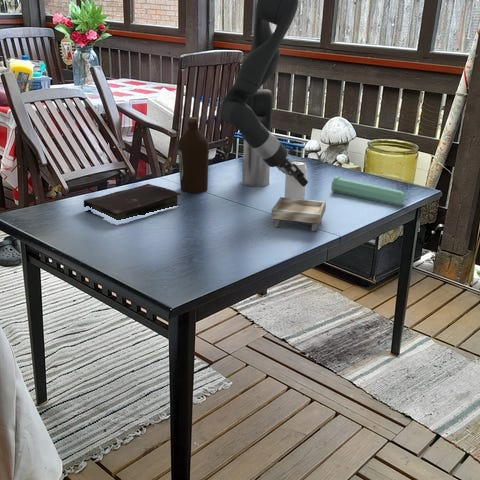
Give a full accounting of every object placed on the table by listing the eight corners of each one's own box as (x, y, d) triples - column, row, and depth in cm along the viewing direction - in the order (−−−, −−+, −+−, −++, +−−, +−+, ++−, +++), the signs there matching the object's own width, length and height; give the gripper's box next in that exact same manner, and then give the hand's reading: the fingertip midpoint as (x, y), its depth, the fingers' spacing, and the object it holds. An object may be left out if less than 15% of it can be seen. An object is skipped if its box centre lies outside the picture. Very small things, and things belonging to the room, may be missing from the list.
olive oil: (208, 184, 212) (208, 114, 202) (209, 194, 202) (209, 120, 193) (179, 185, 211) (177, 114, 202) (178, 194, 201) (176, 120, 192)
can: (305, 202, 189) (307, 165, 184) (284, 201, 189) (286, 164, 184) (303, 195, 195) (306, 159, 190) (284, 194, 195) (286, 159, 190)
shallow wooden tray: (271, 227, 174) (271, 209, 171) (279, 214, 184) (280, 197, 182) (318, 233, 170) (320, 214, 168) (324, 219, 181) (325, 201, 179)
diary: (83, 213, 185) (82, 198, 183) (147, 196, 202) (147, 182, 200) (118, 228, 173) (117, 212, 171) (183, 208, 190) (183, 193, 188)
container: (407, 187, 193) (338, 172, 206) (400, 197, 190) (330, 182, 202) (407, 201, 197) (339, 186, 210) (400, 211, 193) (331, 196, 206)
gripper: (289, 144, 175) (319, 178, 184) (266, 134, 187) (295, 166, 196) (272, 164, 175) (304, 196, 184) (250, 152, 187) (281, 183, 196)
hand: (299, 181), depth 190 cm, fingers closed on can, 6 cm apart
